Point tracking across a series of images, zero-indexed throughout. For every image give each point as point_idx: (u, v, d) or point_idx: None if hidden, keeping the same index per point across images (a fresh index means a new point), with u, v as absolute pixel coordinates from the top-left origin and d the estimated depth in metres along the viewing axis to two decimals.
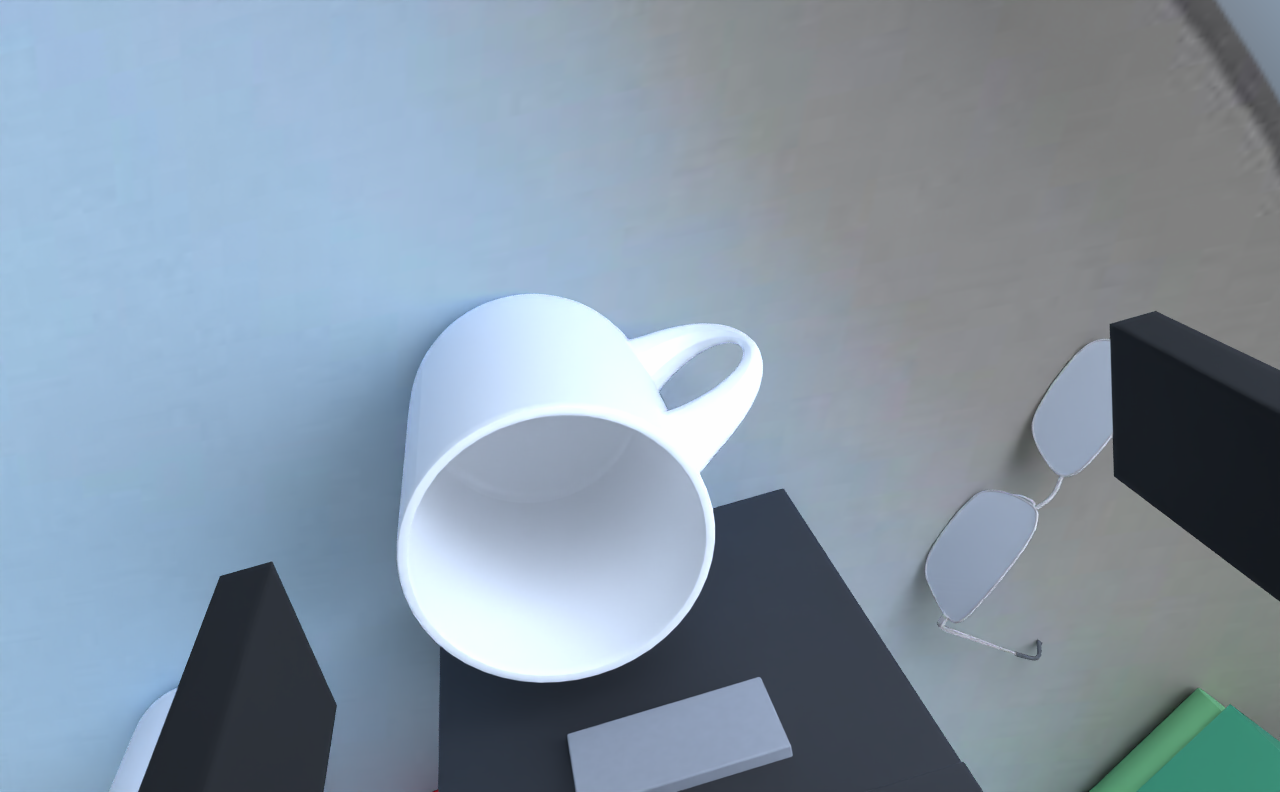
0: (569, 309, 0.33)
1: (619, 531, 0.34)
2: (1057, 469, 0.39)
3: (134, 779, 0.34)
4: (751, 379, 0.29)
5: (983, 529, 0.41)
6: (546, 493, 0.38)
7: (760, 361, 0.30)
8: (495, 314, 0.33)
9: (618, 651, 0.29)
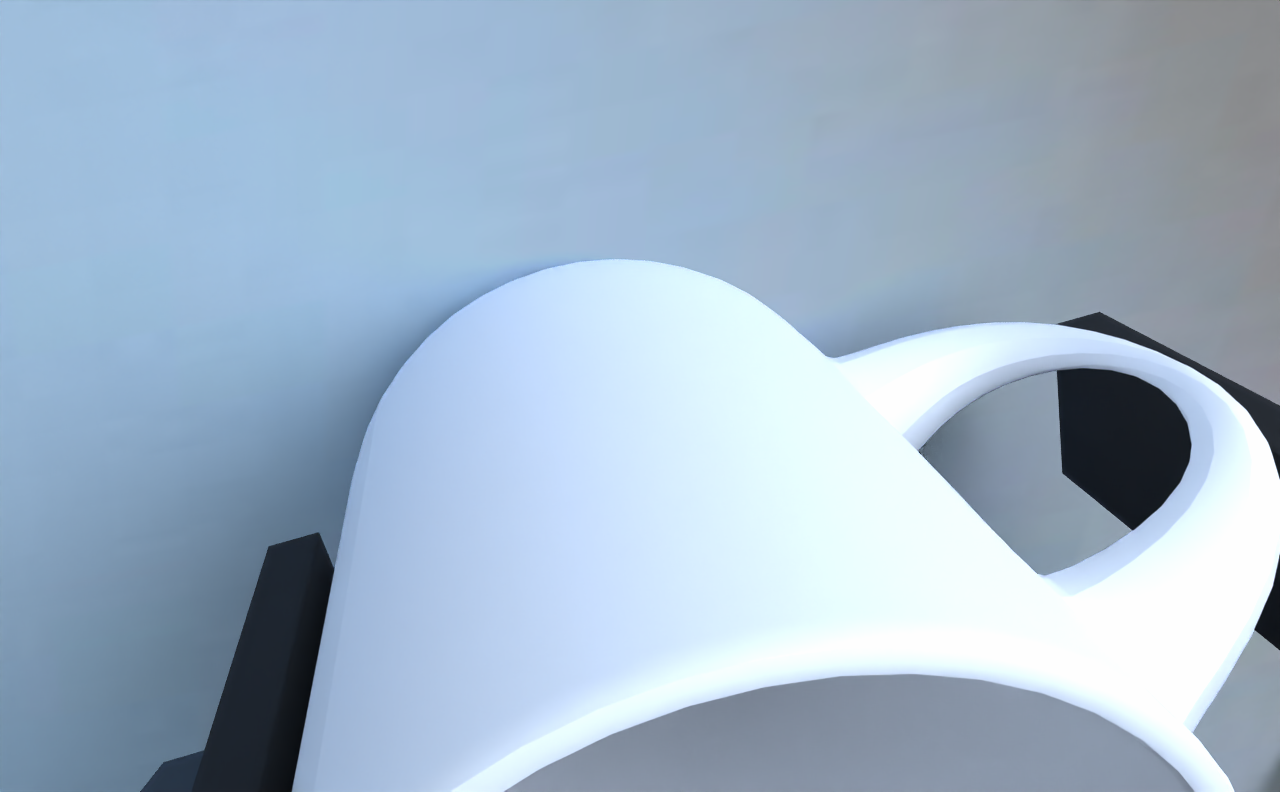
0: (709, 291, 0.15)
1: (816, 786, 0.15)
2: None
3: None
4: (1272, 478, 0.10)
5: None
6: None
7: (1254, 423, 0.11)
8: (543, 304, 0.14)
9: None
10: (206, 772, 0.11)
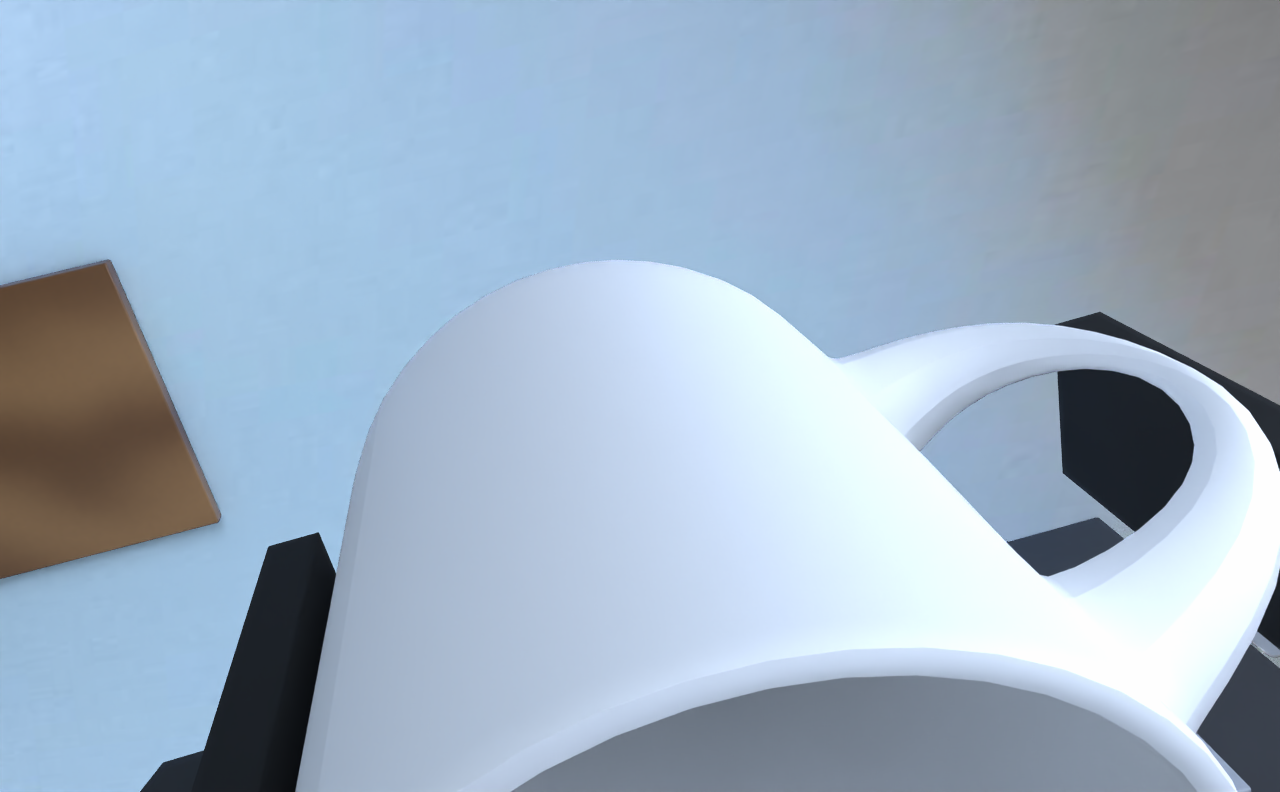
0: (711, 292, 0.15)
1: (818, 787, 0.15)
2: None
3: None
4: (1274, 480, 0.10)
5: None
6: None
7: (1257, 424, 0.11)
8: (545, 305, 0.14)
9: None
10: (206, 772, 0.11)
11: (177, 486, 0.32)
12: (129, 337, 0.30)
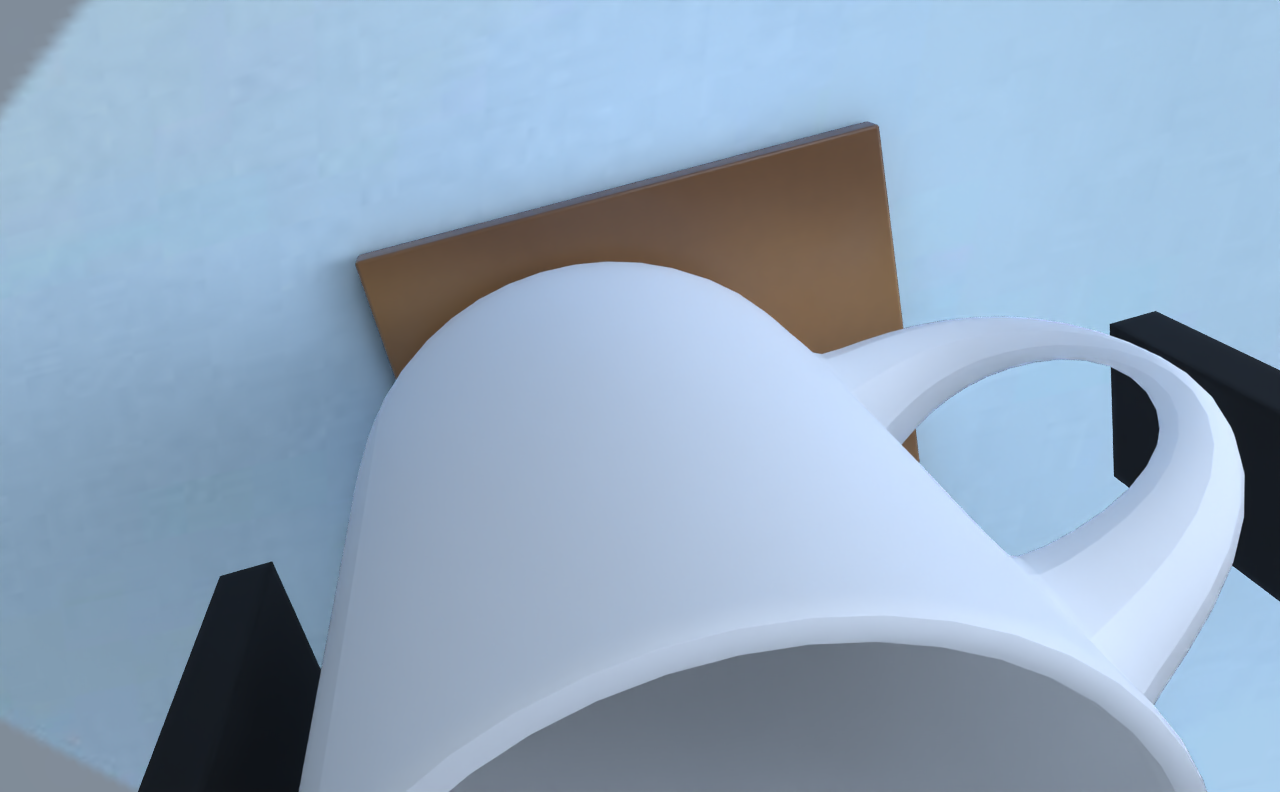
0: (698, 291, 0.15)
1: (810, 769, 0.16)
2: None
3: None
4: (1232, 460, 0.11)
5: None
6: None
7: None
8: (536, 306, 0.14)
9: None
10: None
11: None
12: (883, 257, 0.18)
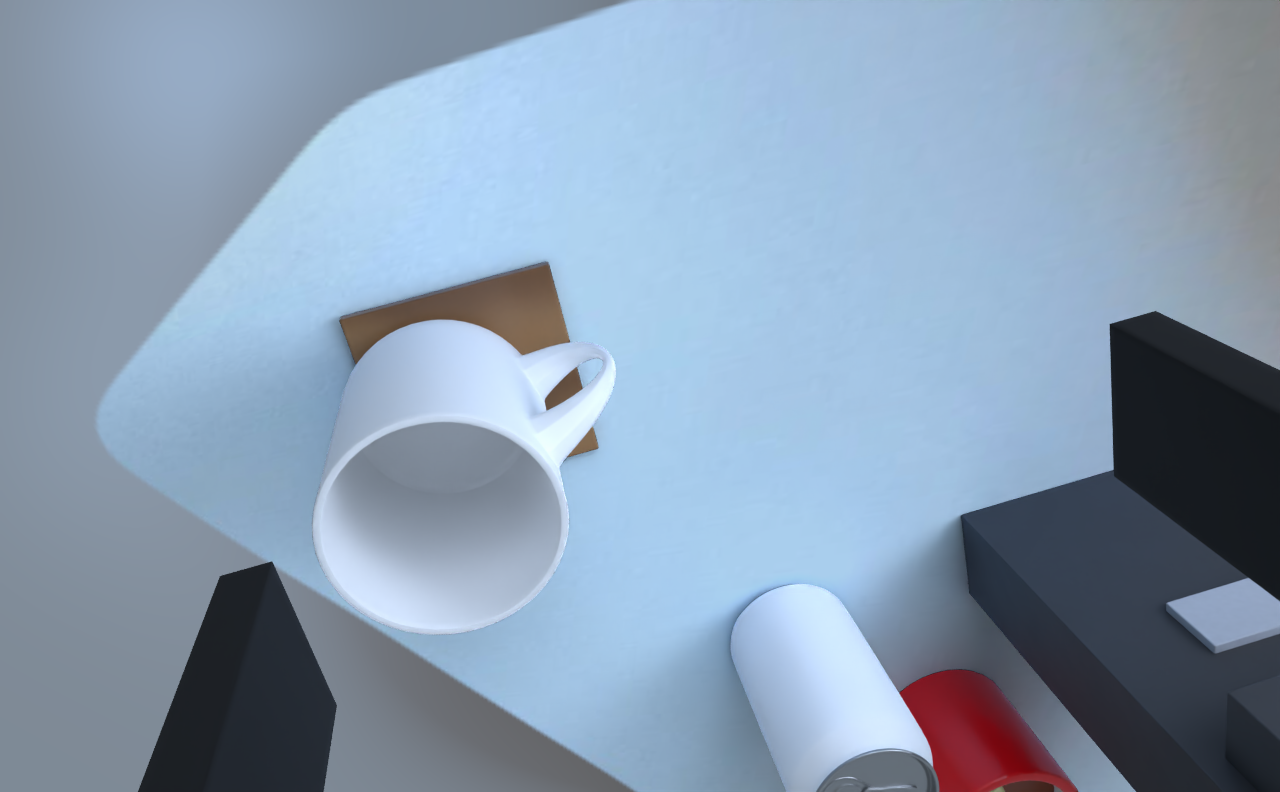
0: (466, 332, 0.41)
1: (513, 514, 0.41)
2: None
3: (793, 649, 0.47)
4: (601, 389, 0.36)
5: None
6: (461, 485, 0.45)
7: (612, 374, 0.37)
8: (404, 338, 0.40)
9: (498, 609, 0.36)
10: None
11: None
12: (557, 316, 0.43)
